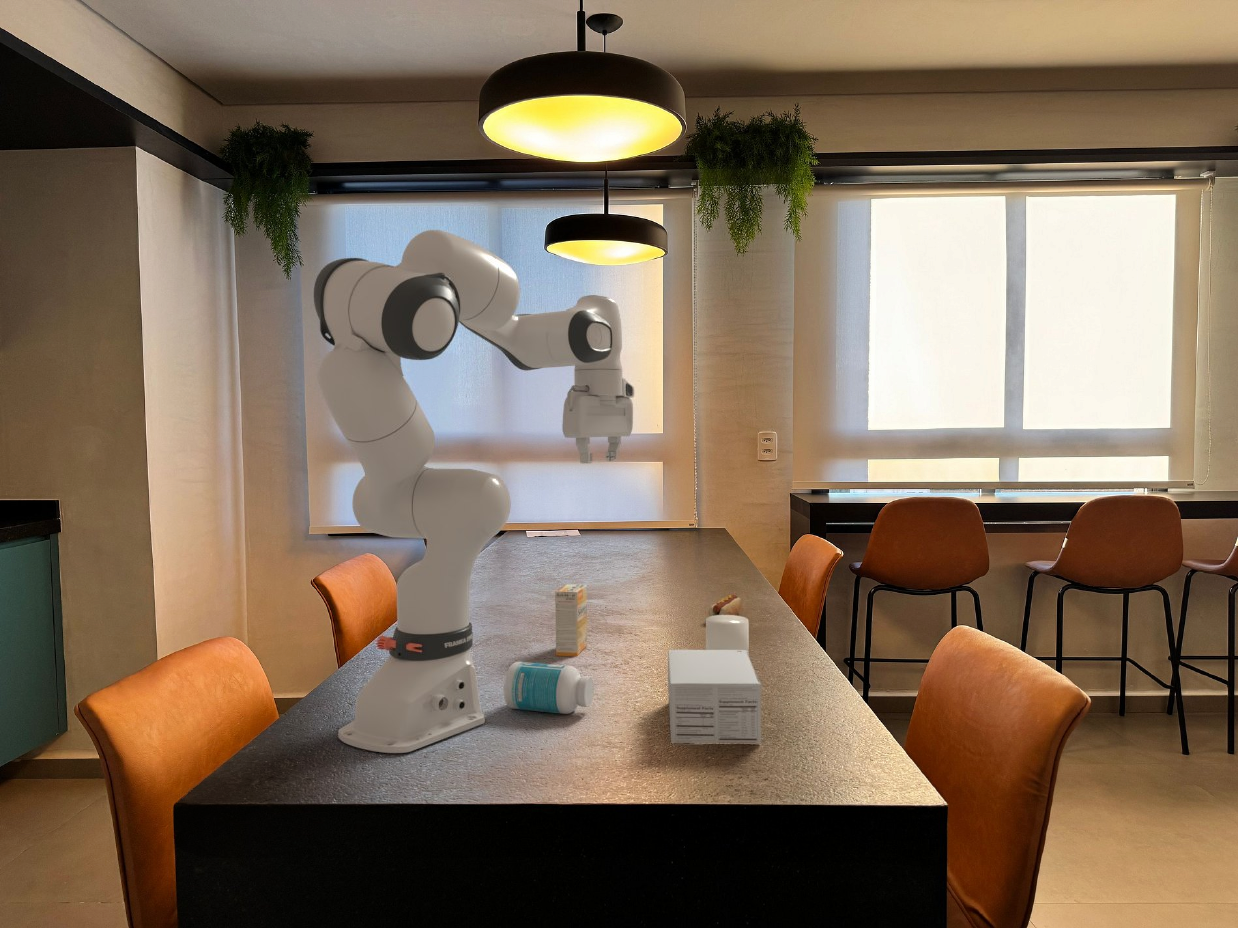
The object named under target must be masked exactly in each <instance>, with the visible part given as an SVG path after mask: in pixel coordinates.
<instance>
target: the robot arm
mask: <svg viewBox="0 0 1238 928" xmlns="http://www.w3.org/2000/svg"><path fill="white" fill-rule="evenodd" d="M520 290H521V288H520V282H519V278H518V275H517V274H516V272H515V271H514V269H513V268H512V266H510V264H508V262H506V261H505V260H504V259H502V258H500V257H499V256H497V255H496V254H494V253H493V252H491V251H489V250H487V249H486V248H484V247H483V246H480V245H479V244H477V243H474V241H471V240H469V239H466V238H464V237H461V236H459V235H456V234H453V233H451V232H447V231H443V230H439V229H428V230H424V231H422V232H420V233H418V234H416V235H415V236H414V237H413V238H412V239H411V240H410V241H409V242H408V243H407V245H406V247H405V249H404V251H403V253H402V257H401V262H400V263H398V264H397V265H395V266H394V265H390V264H386V263H382V262H375V261H370V260H369V259H368V260H367V259H364V258H360V257H346V258H340V259H336V260H333V261H330V262H329V263H327V264H326V265H325V266H324V267H322V269H321V270H320V272H319V273H318V275H317V276H316V278H315V281H314V287H313V302H314V308H315V309H314V310H315V312H316V314H317V317H318V319H319V332H320V334H321V336H322V338H323V339H324V340H325V341H327V342H328V344H330V345H332V346H334V347H333V348H332V350H331V351H329V352H328V353H327V354H326V355H325V357H324V358H323V359H322V360H321V362H320V365H319V367H318V370H317V371H318V372H317V379H318V380H317V381H318V384H319V387H320V389H321V392H322V396H323V398H324V401H325V403H326V405H327V408H328V410H329V411H330V414H331V416H332V418H333V420H334V422H335V425H337V426H338V429H339V430H340V431H341V433H342V435H343V437H344V438H345V439H346V441H347V443H348V444H349V446H350V448H351V449H352V451H353V452H354V454H355V456H356V458H357V460H358V461H359V463H360V464H361V467H362V469H363V472H364V475H363V476H362V478H361V479H359V481H358V483H357V484H356V487H355V489H354V492H353V496H352V511H353V514H354V517H355V520H356V522H357V524H358V525H359V526H360V527H361V528H362V530H363V529H364V531H367V532H371V533H374V534H378V535H382V536H385V537H390V538H403V539H404V538H405V539H426V549H425V552H424V556H423V557H422V559H421V560H420V561H417V562H415V563H414V564H412V565H410V566H409V567H407V568H406V569H405V570H404V571H403V572H402V573H401V575H400V576H399V578H398V580H397V583H396V624H397V625H396V627H395V629H394V632H393V635H392V637H391V636H385V635H380V636H378V638H377V640H376V643H375V645H376V647H377V649H379V650H385V651H388V654H389V656H388V657H387V659H386V660H385V661H384V662H383V663H382V664H381V665H380V667H379V668H378V670H377V671H375V673H374V674H373V675H372V677H371V678H370V679H369V681H367V683H366V684H365V685H364V687H362V688H361V690H360V691H359V693H358V695H357V697H356V702H355V703H356V704H355V710H354V711H355V713H354V720H353V721H351V722H349V723H347V724H346V725H343V726H342V727H340V728H339V729H338V734H337V737H338V739H339V740H340V741H341V742H342V743H345V744H347V745H349V746H352V747H354V748H355V747H356V748H357V749H362V750H366V751H371V752H379V753H384V754H385V753H387V754H403V753H404V754H405V753H409V752H412V751H415V750H417V749H420V748H423V747H426V746H428V745H431V744H434V743H436V742H439V741H441V740H445V739H447V738H448V737H451V736H454V735H457V734H460V733H462V732H465V731H467V730H470V729H472V728H475V727H478V726H481V725H483V724H485V722H486V719H485V713H484V712H483V711H482V707H481V703H480V695H479V686H478V685H479V684H478V678H477V673H476V672H477V669H476V666H475V664H474V661H473V657H472V651H471V648H472V647H473V643H474V642H473V639H474V638H473V637H474V632H473V625H472V622H470V591H471V590H470V589H471V586H470V585H471V576H472V572H473V568H474V565H475V562H476V560H477V558H478V556H479V554H480V553H481V551H482V550H483V548H484V547H485V546H486V544H487V543H488V542H489V541H490V540H491V539H493V537H495V536H496V535H497V534H498V533H499V532H500V531H501V530H503V528H504V526H505V525H506V523H507V522H508V520H509V515H510V513H511V508H512V507H511V504H512V503H511V496H510V492H509V489H508V487H507V486H506V483H505V482H504V481H503V480H502V479H501V477H500V476H498V475H497V474H494V473H491V472H490V473H489V472H487V471H481V470H477V469H473V468H472V469H471V468H433V467H427V466H425V465H426V464H427V463H428V461H430V459H431V457H432V455H433V453H434V449H435V444H436V443H435V432H434V430H433V428H432V427H431V424H430V423H429V421H428V419H427V417H426V415H425V413H424V411H423V409H422V408H421V405H420V403H419V402H418V400H417V397H416V396H415V394H414V393H413V391H412V388H411V387H410V386H409V384H408V382H407V380H406V379H405V378H404V376H405V375H404V373H403V369H402V362H401V361H402V360H401V359H406V360H411V361H412V360H413V361H427V360H433V359H435V358H437V357H439V356H440V355H441V354H443V353H444V352H445V351H446V350H447V348H448V347H449V346H450V345H451V343H452V341H453V340H454V337H455V335H456V332H457V329H458V326H459V324H460V325H461V326H463V327H464V328H465V329H467V330H468V331H470V333H473V334H474V335H476V336H477V337H479V338H481V339H482V340H484V341H486V342H488V343H489V344H490V345H492V346H494V347H496V348H497V349H498V350H499V351H501V352H502V353H503V354H504V356H505V357H506V358H507V359H508V360H509V361H510V363H511V364H512V365H514V366H515V367H516V368H517V369H520V370H521V371H532V370H533V371H534V370H539V369H547V368H563V367H574V373H573V374H574V375H573V376H574V377H573V378H574V380H573V381H574V385H571V387H570V388H569V391H567V393H566V394H567V395H566V398H565V399H564V402H563V409H562V410H563V413H562V425H561V426H562V429H561V430H562V433H563V436H564V438H567V439H571V438H572V439H575V445H576V448H577V451H578V452H579V462H580V464H592V463H593V453H591V450H590V447H589V444H590V443H591V441H590V440H591V439H590V438H607V443H608V448H607V451H605V461H606V462H616V461H618V454H619V453H618V452H619V450H620V446H621V443H622V442H621V441H622V439H621V438H622V437H630V436H631V434H632V431H633V426H634V405H633V403H634V402H633V401H632V398H634V397H635V387H634V386H633V385H632V384H631V383H630V382H628V381H627V379H626V378H625V377H623V366H622V363H621V353H622V350H623V349H622V348H623V333H622V331H623V330H622V321H621V315H620V314H621V313H620V310H619V306H618V304H617V302H616V301H615V300H614V299H612V298H610V297H607V296H601V295H596V294H595V295H591V294H590V295H584V296H582V297H580V298H578V300H577V302H576V304H575V305H574V306H573V307H570V308H567V309H566V310H560V311H551V312H549V311H548V312H543V313H542V312H541V313H524V314H523V313H522V314H521V313H520V314H519V313H518V314H515V313H516V311H517V308H518V305H519V302H520V297H521V294H520V293H521V291H520ZM326 334H327V335H328V336H329V337H328V336H327V335H326Z"/></svg>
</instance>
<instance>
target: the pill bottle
mask: <svg viewBox="0 0 1238 928" xmlns="http://www.w3.org/2000/svg"><path fill="white" fill-rule="evenodd" d="M594 690H595V684H594V679H593V677H592V676H590V675H589V676H588V675H583V676H581V673H580V671H579V670H578V669H577V668H576V667H575V666H572V665H562V664H551V663H539V662H526V661H515V662H513V663H512V664H511V665H510V666H509V668H508V670H507V671H506V674H505V677H504V682H503V697H504V698H503V699H504V702H505V703H506V706H508V707H509V708H510V709H515V710H522V711H523V710H524V711H533V712H545V713H552V714H560V715H561V714H565V715H568V714H571V713H573V712H574V711H575V710H576V709H577V708H578V707H582V708H583V707H584V708H589V707H590V706H591V704H592V702H593V698H594V692H595V691H594Z"/></svg>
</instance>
